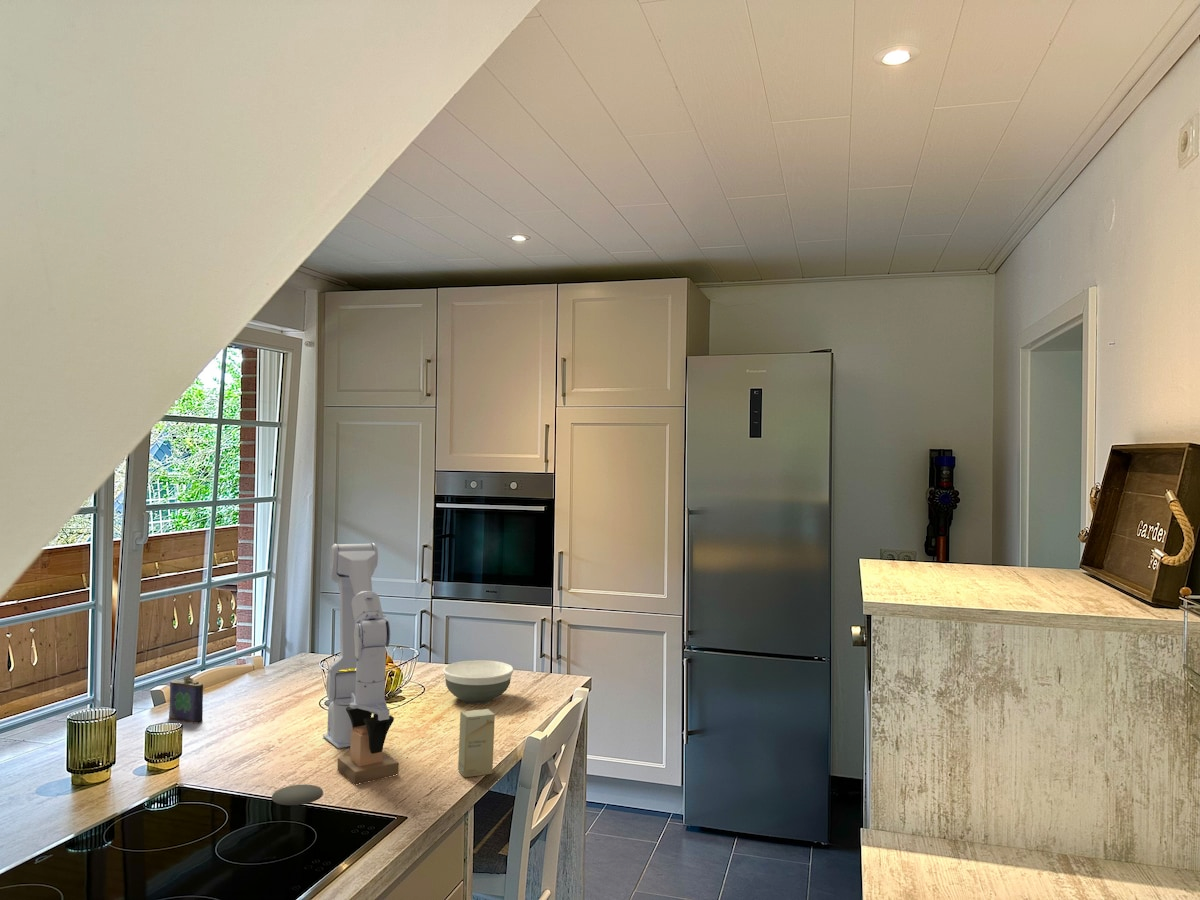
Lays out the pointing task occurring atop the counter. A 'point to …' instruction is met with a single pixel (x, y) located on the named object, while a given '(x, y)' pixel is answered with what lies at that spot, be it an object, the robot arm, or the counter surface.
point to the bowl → (478, 680)
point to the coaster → (297, 794)
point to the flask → (186, 700)
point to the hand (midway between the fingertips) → (368, 746)
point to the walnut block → (367, 769)
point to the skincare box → (476, 742)
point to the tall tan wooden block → (362, 748)
